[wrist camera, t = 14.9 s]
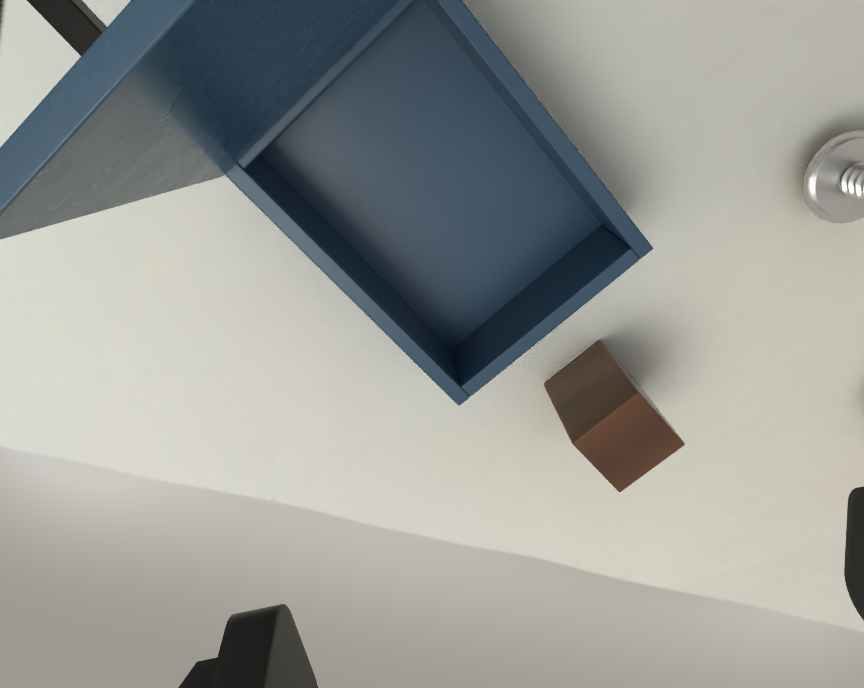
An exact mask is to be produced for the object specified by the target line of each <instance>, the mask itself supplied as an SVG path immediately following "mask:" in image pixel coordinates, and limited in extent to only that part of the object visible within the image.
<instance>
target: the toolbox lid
mask: <svg viewBox="0 0 864 688" xmlns="http://www.w3.org/2000/svg"><path fill="white" fill-rule="evenodd" d="M27 1H28V2H29V3H30V4H31V5H32V6H33V7H34V8H35V9H36V10H37V11H38V12H39V13H40V14H41V15H42V16H43V17H44V18H45V19H46V20H47V21H48V22H49V23H50V24H51V26H52V27H53V28H54V29H55V30H56V31H57V32H58V33H59V34H60V35H61V36H62V37H63V38H64V39H65V40H66V41H67V42H68V43H69V44H70V45H71V46H72V47H73V48H74V49H75V50H76V51H77V52H78V53H79V54H80V55H81V58H80V59H79V60H78V61H77V62H76V63H75V64H74V65H73V67H72V68H71V69H70V70H69V71H68V72H67V73H66V74H65V76H64V77H63V78H62V79H61V80H60V81H59V82H58V83H57V85H56V86H55V87H54V88H53V89H52V90H51V91H50V92H49V94H48V95H47V96H46V97H45V98H44V99H43V100H42V102H41V103H40V104H39V105H38V106H37V107H36V108H35V109H34V111H33V112H32V113H31V114H30V115H29V116H28V117H27V118H26V120H25V121H24V122H23V123H22V124H21V125H20V126H19V127H18V129H17V130H16V131H15V132H14V133H13V134H12V135H11V136H10V138H9V139H8V140H7V141H6V142H5V143H4V144H3V145H2V147H1V148H0V239H4V238H7V237H11V236H14V235H18V234H21V233H25V232H28V231H32V230H35V229H39V228H42V227H46V226H49V225H53V224H56V223H60V222H64V221H67V220H71V219H74V218H78V217H81V216H85V215H88V214H92V213H95V212H99V211H102V210H106V209H109V208H113V207H116V206H120V205H123V204H127V203H130V202H134V201H137V200H141V199H144V198H148V197H151V196H155V195H158V194H162V193H166V192H169V191H173V190H176V189H180V188H183V187H187V186H190V185H194V184H197V183H201V182H204V181H208V180H211V179H215V178H218V177H222V176H224V175H225V174H226V173H227V172H228V171H229V170H230V169H231V168H232V167H233V166H234V165H235V164H236V163H237V162H238V161H239V160H240V159H241V158H242V157H243V156H244V155H245V154H246V153H247V152H248V151H249V150H250V149H251V148H252V147H253V146H254V145H255V144H256V143H257V142H258V141H259V140H260V139H261V138H262V137H263V136H264V135H265V134H266V133H267V132H268V131H269V130H270V129H271V128H272V127H273V126H274V125H275V124H276V123H277V122H278V121H279V120H280V119H281V118H282V117H283V116H284V115H285V114H286V113H287V112H288V111H289V110H290V109H291V108H292V107H293V106H294V105H295V104H296V103H297V102H298V101H299V100H300V99H301V98H302V97H303V96H304V95H305V94H306V93H307V92H308V91H309V90H310V89H311V88H312V87H313V86H314V85H315V84H316V83H317V82H318V81H319V80H320V79H321V78H322V77H323V76H324V75H325V74H326V73H327V72H328V71H329V70H330V69H331V68H332V67H333V66H334V65H335V64H336V63H337V62H338V61H339V60H340V59H341V58H342V57H343V56H344V55H345V54H346V53H347V52H348V51H349V50H350V49H351V48H352V47H353V46H354V45H355V44H356V43H357V42H358V41H359V40H360V39H361V38H362V37H363V36H364V35H365V34H366V33H367V32H368V31H369V30H370V29H371V28H372V27H373V26H374V25H375V24H376V23H377V22H378V21H379V20H380V19H381V18H382V17H383V16H384V15H385V14H386V13H387V12H388V11H389V10H390V9H391V8H392V7H393V6H394V5H395V4H396V3H397V2H398V1H399V0H131V1H130V2H129V3H128V5H127V6H126V7H125V8H124V9H123V10H122V11H121V12H120V14H119V15H118V16H117V17H116V18H115V19H114V20H113V22H112V23H111V24H110V25H109V26H108V27H107V26H106V25H105V24H104V23H103V22H102V21H101V20H100V19H99V18H98V17H97V16H96V15H95V14H94V13H93V12H92V11H91V10H90V9H89V8H88V6H87V5H86V4H85V3H84V2H83V1H82V0H27Z"/></svg>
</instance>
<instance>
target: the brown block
mask: <svg viewBox="0 0 864 688" xmlns="http://www.w3.org/2000/svg"><path fill="white" fill-rule="evenodd" d="M544 387H545V389H546V391H547V393H548V395H549V397H550V399H551V401H552V403H553V405H554V407H555V409H556V411H557V413H558V415H559V417H560V419H561V421H562V423H563V425H564V428H565V430H566V432H567V434H568V436H569V438H570V440H571V442H572V444H573V445H574V446H575V447H576V448H577V449H578V450H579V451H580V452H581V453H582V454H583V455H584V456H585V457H586V458H587V459H588V460H589V461H590V462H591V463H592V465H593V466H594V467H595V468H596V469H597V470H598V471H599V472H600V473H601V474H602V475H603V476H604V477H605V478H606V479H607V480H608V481H609V482H610V483H611V484H612V485H613V486H614V487H615V488H616V489H617V490H618V491H619V492H621V491H622V490H624V489H625V488H626V487H628V486H629V485H631V484H632V483H633V482H635V481H636V480H637V479H639V478H640V477H641V476H643V475H644V474H645V473H647V472H648V471H650V470H651V469H652V468H654V467H655V466H656V465H658V464H659V463H660V462H662V461H663V460H665V459H666V458H667V457H669V456H670V455H671V454H673V453H674V452H675V451H677V450H678V449H680V448H681V447H682V446H684V442H683V441H682V439H681V438H680V437H679V435H678V434H677V433H676V432H675V430H674V429H673V428H672V426H671V425H670V424H669V423H668V421H667V420H666V419H665V417H664V416H663V415H662V413H661V412H660V411H659V410H658V408H657V407H656V406H655V404H654V403H653V402H652V401H651V399H650V398H649V397H648V395H647V394H646V393H645V392H644V390H643V389H642V388H641V386H640V385H639V384H638V383H637V382H636V381H635V379H634V378H633V377H632V376H631V375H630V374H629V373H628V371H627V370H626V369H625V368H624V367H623V366H622V365H621V363H620V362H619V361H618V360H617V359H616V358H615V357H614V355H613V354H612V353H611V352H610V351H609V350H608V349H607V347H606V346H605V345H604V344H603V343H602V342H601V341H600V340H599V341H598V342H596V343H595V344H594V345H593V346H591V347H590V348H589V349H588V350H586V351H585V352H584V353H583V354H581V355H580V356H579V357H578V358H576V359H575V360H574V361H573V362H571V363H570V364H569V365H568V366H566V367H565V368H564V369H563V370H561V371H560V372H559V373H558V374H556V375H555V376H554V377H553V378H551V379H550V380H549V381H548V382H546V383H545V384H544Z"/></svg>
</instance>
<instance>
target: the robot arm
mask: <svg viewBox="0 0 864 688" xmlns="http://www.w3.org/2000/svg"><path fill="white" fill-rule="evenodd" d="M844 572H845V581H846V586H847V589H848V592H849V595H850V598H851V600H852V602H853V604H854V606H855V608H856V610H857V611H858V613H859V614H860V616H861V617H862V619H863V620H864V487H859V488H855V489H854V490H852V491H851V493H850V495H849V498H848V511H847V530H846V550H845V569H844ZM179 688H318V686H317V682H316V679H315V676H314V673H313V670H312V668H311V665H310V662H309V660H308V657H307V654H306V652H305V649H304V646H303V644H302V641H301V638H300V636H299V633H298V630H297V627H296V625H295V622H294V619H293V617H292V614H291V612H290V610H289V608H288V607H287V606H286V605H285V604H281V605H277V606H272V607H267V608H262V609H257V610H252V611H247V612H242V613H237V614H234V615H231V617H230V618H229V620H228V622H227V625H226V628H225V632H224V635H223V639H222V643H221V647H220V650H219V654H218V658H213V659H209V660H204V661H199V662H197V663H196V664H195V666H194V667H193V668H192V670H191V671H190V672H189V674H188V675H187V677H186V678H185V679H184V681H183V682H182V684H181V685H180V686H179Z"/></svg>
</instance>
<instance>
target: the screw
mask: <svg viewBox="0 0 864 688" xmlns="http://www.w3.org/2000/svg"><path fill="white" fill-rule="evenodd" d="M803 193H804V197H805V201H806V203H807V205H808V207H809V209H810V210H811V211H812V212H813V213H814V214H815V215H816V216H818V217H819V218H821V219H823V220H826V221H829V222H832V223H847V222H852V221H855V220H858V219H861V218H862V217H864V131H862V130H861V131H850V132H846V133H843V134H840V135H838V136H836V137H834V138H832V139H831V140H830V141H828V142H827V143H826V144H824V145H823V146H822V147H821V148H820V149H819V151H818V152H817V153H816V154H815V155H814V157H813V158H812V160H811V161H810V162H809V163H808V168H807V170H806V173H805V177H804V182H803Z"/></svg>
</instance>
